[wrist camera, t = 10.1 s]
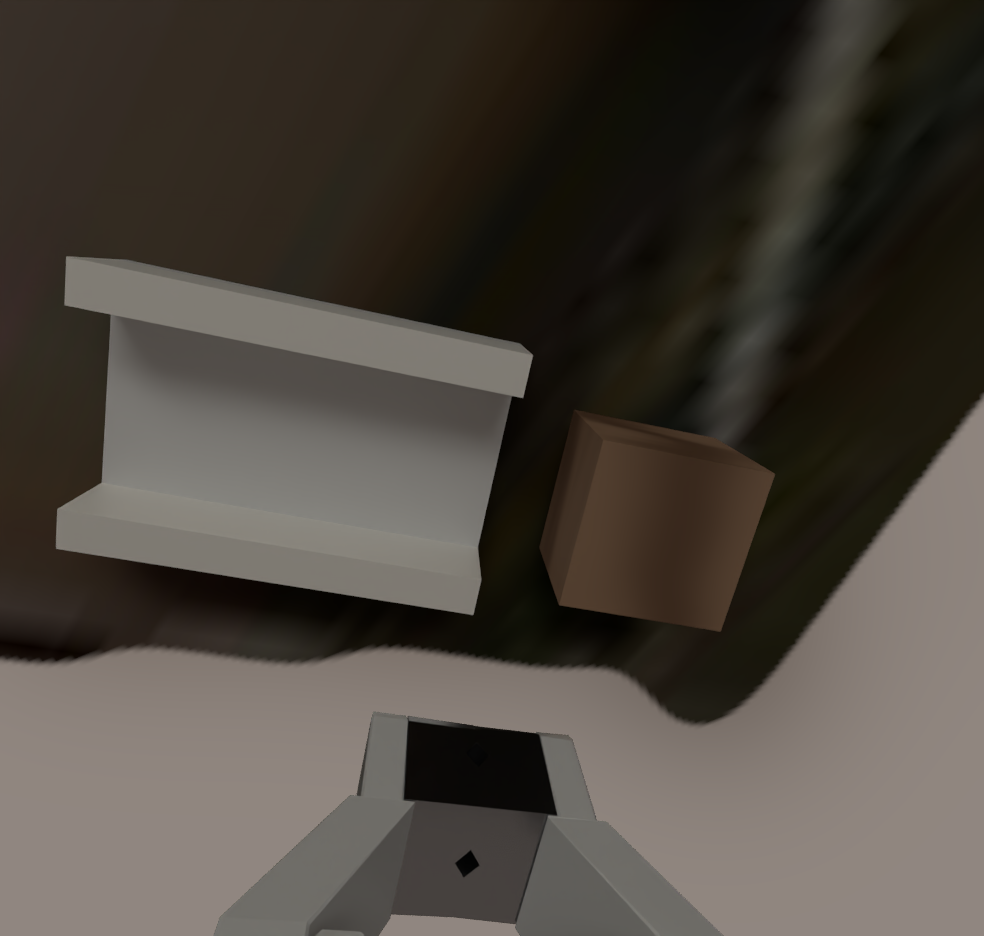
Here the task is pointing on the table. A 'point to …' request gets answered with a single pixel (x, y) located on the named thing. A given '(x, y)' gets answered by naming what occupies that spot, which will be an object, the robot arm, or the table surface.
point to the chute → (290, 438)
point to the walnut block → (650, 521)
